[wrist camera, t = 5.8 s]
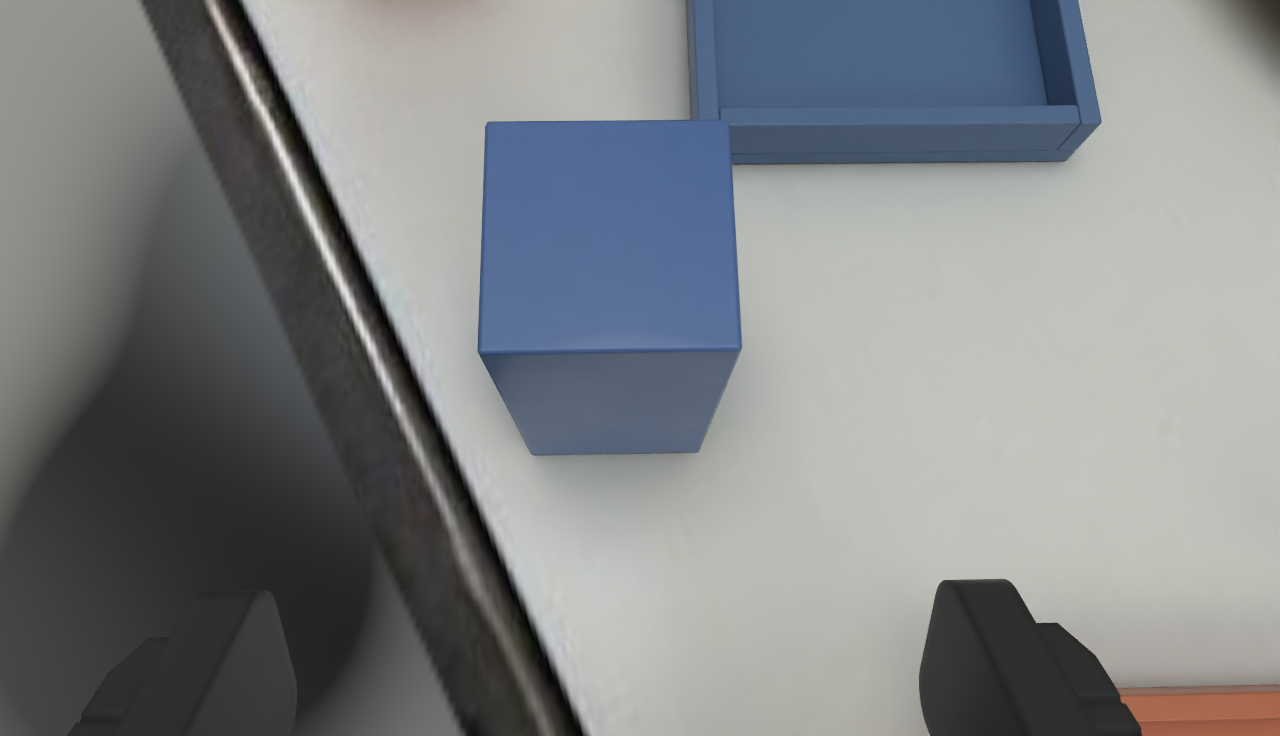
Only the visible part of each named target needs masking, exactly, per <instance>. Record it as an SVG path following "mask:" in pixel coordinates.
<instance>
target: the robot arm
mask: <svg viewBox="0 0 1280 736" xmlns="http://www.w3.org/2000/svg"><path fill="white" fill-rule="evenodd" d="M919 691H920V700H921V707H922V711H923V716H924V719H925V722H926V725H927V728H928V731H929V734H930V736H1143V735H1142V732H1141V729H1142V728H1141V727H1140V725H1139V723H1138V722H1137V720H1136V719H1135V717H1134V716H1133V714H1132V712H1131V711H1130V709H1129V708H1128V706H1127V704H1126V703H1122V702H1121V698H1120V697H1121V695H1120V693H1119V692H1118V690H1117V689H1116V687H1115V686H1114V684H1113V682H1112V681H1111V679H1110V678H1109V676H1108V674H1107V673H1106V671H1105V670H1104V668H1103V667H1102V665H1101V663H1100V662H1099V660H1098V659H1097V657H1096V656H1095V655H1094V654H1093V653H1092V652H1091V651H1089V650H1088V649H1087V648H1086V647H1085V646H1084V645H1082V644H1081V643H1080V642H1079V641H1078V640H1077V639H1075V638H1074V637H1073V636H1072V635H1071V634H1070V633H1068V632H1067V631H1066V630H1065V629H1064V628H1063V627H1062V626H1060V625H1059V624H1058V623H1036V622H1035V620H1034V619H1033V617H1032V615H1031V614H1030V612H1029V610H1028V608H1027V607H1026V605H1025V603H1024V601H1023V600H1022V598H1021V596H1020V595H1019V593H1018V591H1017V590H1016V588H1015V587H1014V585H1013V584H1012V583H1011V582H1010V581H1008V580H1006V579H980V580H943V581H942V582H941V583H940V584H939V586H938V588H937V592H936V595H935V600H934V605H933V610H932V614H931V619H930V624H929V629H928V633H927V638H926V643H925V647H924V652H923V657H922V662H921V666H920V674H919ZM296 707H297V685H296V679H295V674H294V671H293V667H292V664H291V659H290V655H289V652H288V648H287V644H286V640H285V636H284V632H283V629H282V625H281V621H280V617H279V613H278V610H277V606H276V603H275V599H274V597H273V596H272V594H271V593H270V592H269V591H266V590H253V591H251V590H249V591H203V592H200V593H199V594H197V595H196V596H195V597H194V598H193V599H192V601H191V602H190V604H189V606H188V607H187V609H186V610H185V612H184V614H183V615H182V617H181V619H180V620H179V622H178V624H177V625H176V627H175V629H174V630H173V632H172V634H171V636H170V637H168V638H148V639H147V640H146V641H145V642H144V643H143V644H141V646H139V647H138V648H137V649H136V650H135V651H133V652H132V653H131V654H130V655H129V656H128V657H127V658H125V659H124V660H123V661H122V662H121V663H119V664H118V665H117V666H116V667H115V668H114V669H112V670H111V671H110V672H109V673H108V674H107V676H106V677H105V679H104V680H103V682H102V683H101V685H100V687H99V688H98V690H97V691H96V693H95V694H94V696H93V697H92V699H91V701H90V702H89V703H88V705H87V707H86V708H85V710H84V711H83V713H82V714H81V715H82V719H81V721H80V723H76V724H75V725H74V727H73V728H72V730H71V731H70V733H69V734H68V736H290V735H291V732H292V729H293V725H294V720H295V715H296Z"/></svg>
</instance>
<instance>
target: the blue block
mask: <svg viewBox="0 0 1280 736" xmlns="http://www.w3.org/2000/svg"><path fill="white" fill-rule="evenodd" d="M741 348H742V336H741V319H740V301H739V283H738V266H737V248H736V230H735V213H734V195H733V177H732V160H731V142H730V125H729V122H728V121H727V120H640V121H514V122H487V124H486V126H485V151H484V181H483V210H482V239H481V269H480V298H479V327H478V353H479V355H480V357H481V359H482V361H483V362H484V364H485V366H486V368H487V370H488V372H489V374H490V376H491V378H492V380H493V382H494V384H495V385H496V387H497V389H498V391H499V393H500V395H501V397H502V399H503V401H504V403H505V405H506V406H507V408H508V410H509V412H510V414H511V416H512V418H513V420H514V422H515V424H516V426H517V428H518V429H519V431H520V433H521V435H522V437H523V439H524V441H525V443H526V445H527V447H528V449H529V450H530V452H531V454H532V455H573V454H633V453H693V452H698V451H699V449H700V447H701V444H702V442H703V439H704V437H705V435H706V432H707V430H708V427H709V425H710V423H711V420H712V418H713V415H714V413H715V411H716V408H717V406H718V404H719V401H720V399H721V396H722V394H723V392H724V389H725V387H726V384H727V382H728V380H729V377H730V375H731V373H732V370H733V368H734V365H735V363H736V361H737V358H738V356H739V353H740V351H741Z"/></svg>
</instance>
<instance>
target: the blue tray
mask: <svg viewBox="0 0 1280 736" xmlns="http://www.w3.org/2000/svg"><path fill="white" fill-rule="evenodd" d="M686 16H687V40H688V63H689V87H690V111H691V120H727V121H728V122H729V125H730V142H731V160H732V164H776V163H886V162H996V161H1066V160H1067V159H1068V158H1069V157H1070V156H1071V155H1072V154H1073V153H1074V152H1075V150H1076V149H1077V148H1078V147H1079V146H1080V145H1081V144H1082V143H1083V142H1084V141H1085V140H1086V139H1087V138H1088V137H1089V135H1090V134H1091V133H1092V132H1093V131H1094V130H1095V129H1096V128H1097V127H1098V126H1099V125H1100V124H1101V116H1100V111H1099V106H1098V101H1097V96H1096V91H1095V86H1094V80H1093V75H1092V70H1091V65H1090V60H1089V55H1088V50H1087V45H1086V39H1085V34H1084V29H1083V24H1082V19H1081V14H1080V9H1079V4H1078V0H686Z"/></svg>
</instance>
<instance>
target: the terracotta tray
mask: <svg viewBox="0 0 1280 736" xmlns="http://www.w3.org/2000/svg"><path fill="white" fill-rule="evenodd" d="M1116 689H1117V690H1118V692H1119V693H1120V695H1121V697H1120V698H1121V702H1122V703H1126V704H1127V706H1128V708H1129V709H1130V711H1131V712H1132V714H1133V716H1134V717H1135V719H1136V720H1137V722H1138V723H1139V725H1140V727H1141V728H1142V729H1141V732H1142V735H1143V736H1280V685H1239V686H1196V687H1153V688H1116Z"/></svg>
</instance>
